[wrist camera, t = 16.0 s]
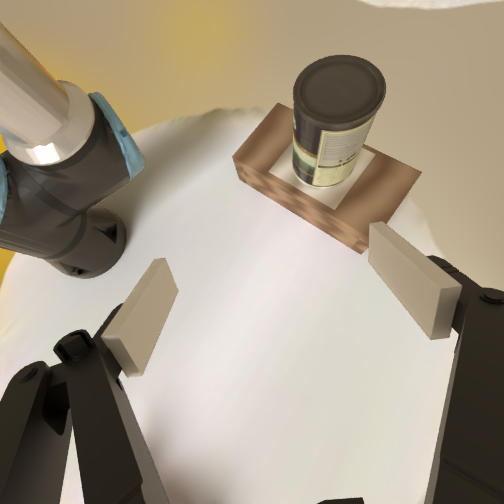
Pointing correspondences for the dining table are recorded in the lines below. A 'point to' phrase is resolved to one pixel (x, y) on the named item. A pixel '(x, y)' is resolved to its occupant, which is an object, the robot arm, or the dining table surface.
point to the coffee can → (333, 117)
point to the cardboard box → (323, 200)
